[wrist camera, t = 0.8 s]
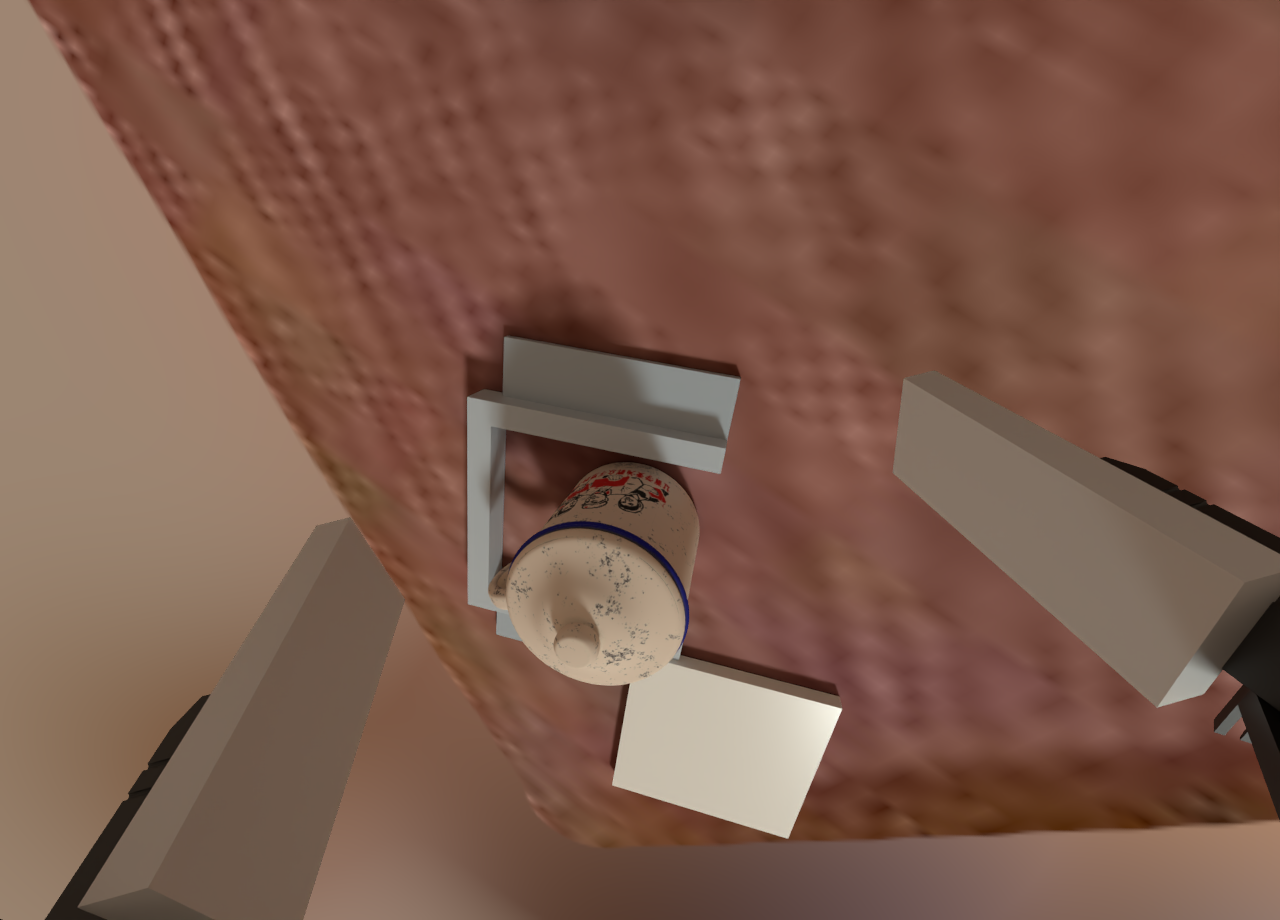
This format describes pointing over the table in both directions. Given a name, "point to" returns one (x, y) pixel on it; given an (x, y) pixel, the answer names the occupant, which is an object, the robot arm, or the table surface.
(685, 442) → the cradle
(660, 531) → the teacup with lid
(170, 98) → the table surface
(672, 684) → the mat
